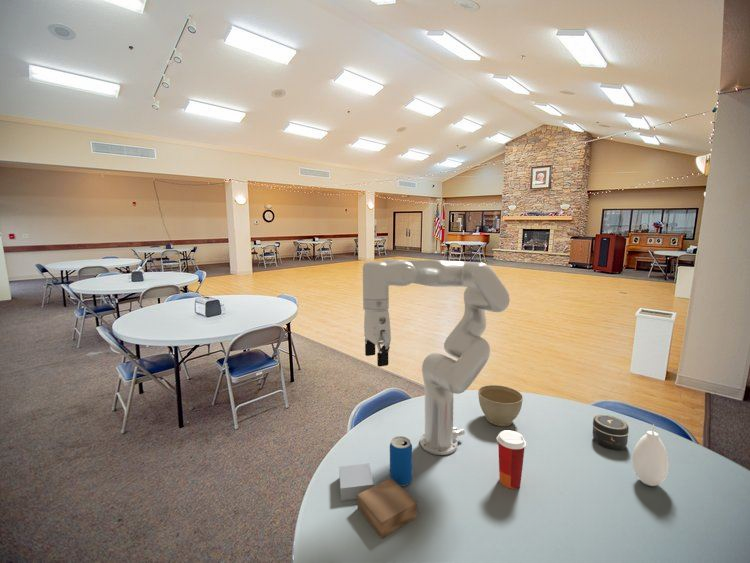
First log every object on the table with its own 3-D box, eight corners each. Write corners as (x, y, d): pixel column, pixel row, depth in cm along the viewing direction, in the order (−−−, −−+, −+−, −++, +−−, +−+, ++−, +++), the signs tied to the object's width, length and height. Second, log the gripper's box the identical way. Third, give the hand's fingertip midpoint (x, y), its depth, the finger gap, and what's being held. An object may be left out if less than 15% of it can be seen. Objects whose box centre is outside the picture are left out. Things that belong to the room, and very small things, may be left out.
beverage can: (411, 489, 96) (410, 449, 95) (388, 486, 97) (387, 447, 96) (413, 474, 102) (413, 436, 101) (391, 471, 104) (391, 434, 102)
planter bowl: (529, 431, 124) (530, 403, 122) (484, 432, 124) (485, 403, 122) (512, 409, 139) (513, 384, 138) (472, 410, 140) (473, 384, 138)
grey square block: (369, 475, 102) (369, 463, 102) (373, 497, 94) (373, 484, 93) (339, 479, 101) (339, 466, 101) (341, 501, 92) (340, 488, 92)
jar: (595, 447, 114) (596, 426, 113) (589, 432, 123) (590, 412, 122) (631, 454, 110) (633, 432, 109) (622, 437, 119) (623, 417, 118)
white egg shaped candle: (657, 497, 92) (663, 434, 89) (625, 479, 99) (630, 420, 96) (671, 487, 95) (677, 426, 93) (639, 470, 102) (644, 414, 100)
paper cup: (523, 476, 101) (525, 431, 99) (525, 494, 93) (527, 446, 92) (495, 470, 103) (496, 427, 101) (495, 488, 96) (496, 441, 94)
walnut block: (391, 490, 96) (391, 477, 95) (417, 516, 87) (417, 502, 86) (357, 508, 90) (357, 494, 89) (381, 538, 80) (381, 522, 80)
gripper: (400, 308, 93) (400, 368, 95) (376, 298, 109) (376, 350, 111) (375, 310, 90) (375, 372, 92) (354, 300, 106) (355, 353, 108)
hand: (376, 360), depth 102 cm, fingers open, 9 cm apart
